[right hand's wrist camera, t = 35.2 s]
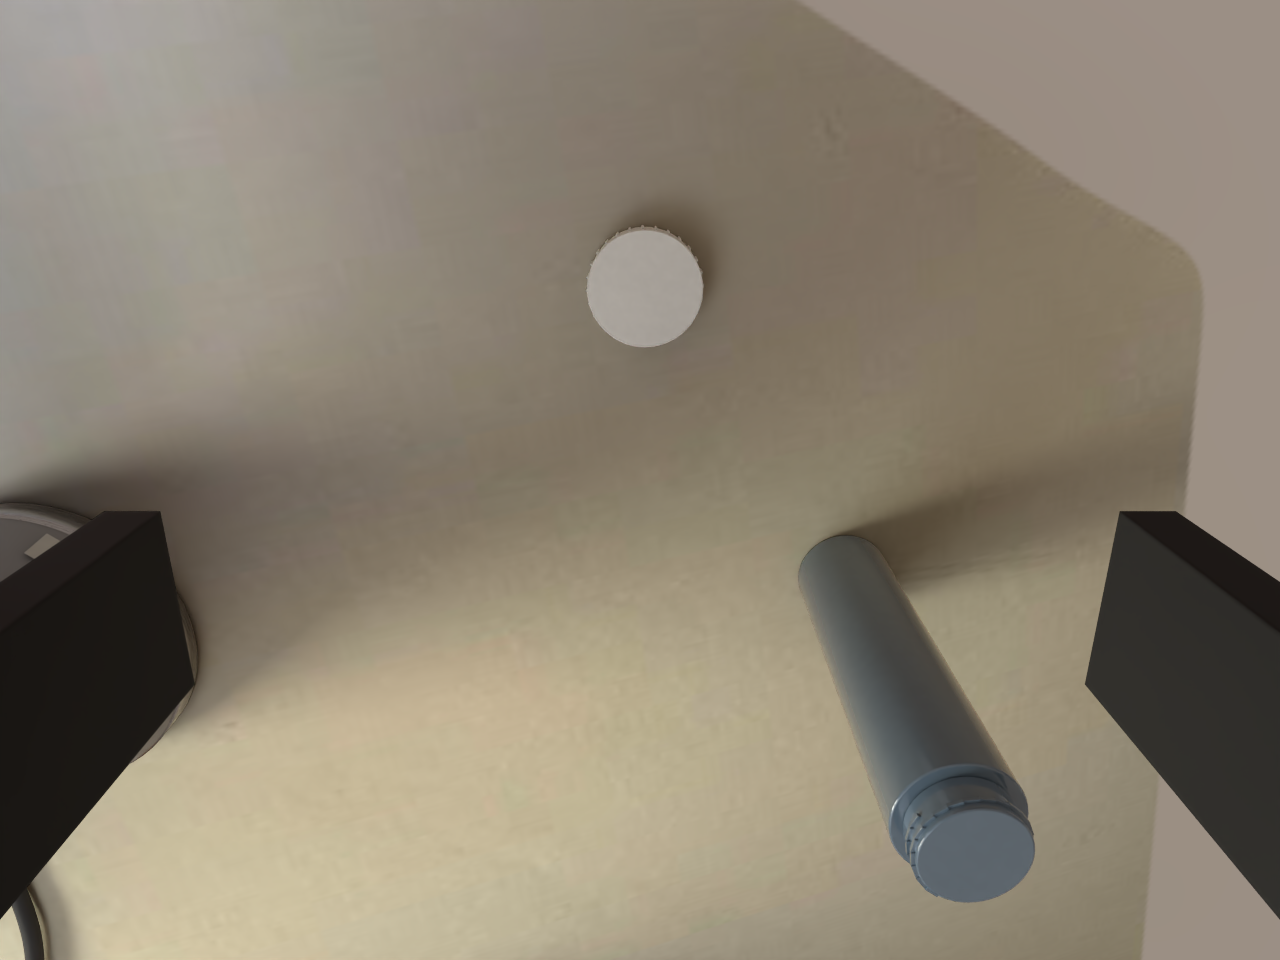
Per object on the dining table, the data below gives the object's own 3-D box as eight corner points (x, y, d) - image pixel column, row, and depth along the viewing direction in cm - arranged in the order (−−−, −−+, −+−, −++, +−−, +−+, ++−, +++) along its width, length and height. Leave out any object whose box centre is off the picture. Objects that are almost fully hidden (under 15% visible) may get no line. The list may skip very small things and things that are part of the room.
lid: (578, 234, 40) (575, 238, 38) (694, 216, 40) (696, 219, 38) (598, 348, 42) (596, 357, 40) (708, 331, 42) (711, 339, 40)
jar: (838, 518, 45) (975, 772, 27) (905, 567, 46) (1081, 846, 28) (779, 582, 46) (871, 868, 28) (845, 629, 47) (976, 935, 29)
